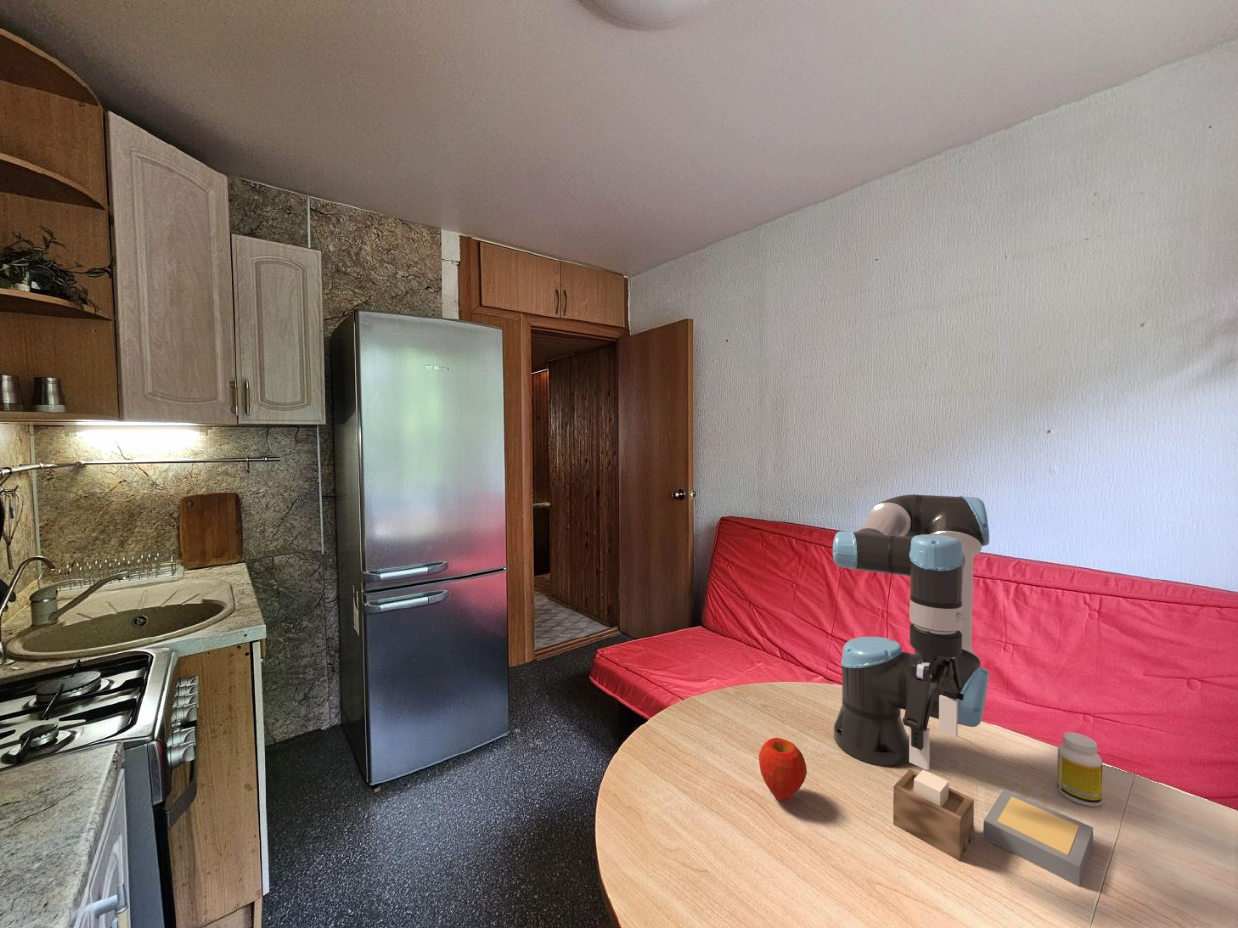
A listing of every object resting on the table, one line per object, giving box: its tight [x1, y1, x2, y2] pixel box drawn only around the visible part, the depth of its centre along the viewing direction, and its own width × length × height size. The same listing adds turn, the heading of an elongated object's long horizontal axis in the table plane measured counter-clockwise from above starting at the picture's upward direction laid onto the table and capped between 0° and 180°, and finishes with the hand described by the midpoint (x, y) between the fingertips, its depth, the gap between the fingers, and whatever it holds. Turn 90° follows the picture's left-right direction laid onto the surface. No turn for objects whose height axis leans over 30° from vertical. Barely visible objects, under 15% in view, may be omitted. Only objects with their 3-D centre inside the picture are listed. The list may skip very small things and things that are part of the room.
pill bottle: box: [1056, 731, 1103, 807], centre depth 92 cm, size 6×6×11 cm
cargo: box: [914, 769, 950, 807], centre depth 85 cm, size 4×4×3 cm
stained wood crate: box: [892, 768, 975, 862], centre depth 85 cm, size 10×7×7 cm
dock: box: [982, 788, 1094, 887], centre depth 82 cm, size 12×12×3 cm
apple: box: [758, 737, 808, 802], centre depth 93 cm, size 9×8×11 cm
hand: (934, 748), depth 84 cm, fingers open, 13 cm apart
